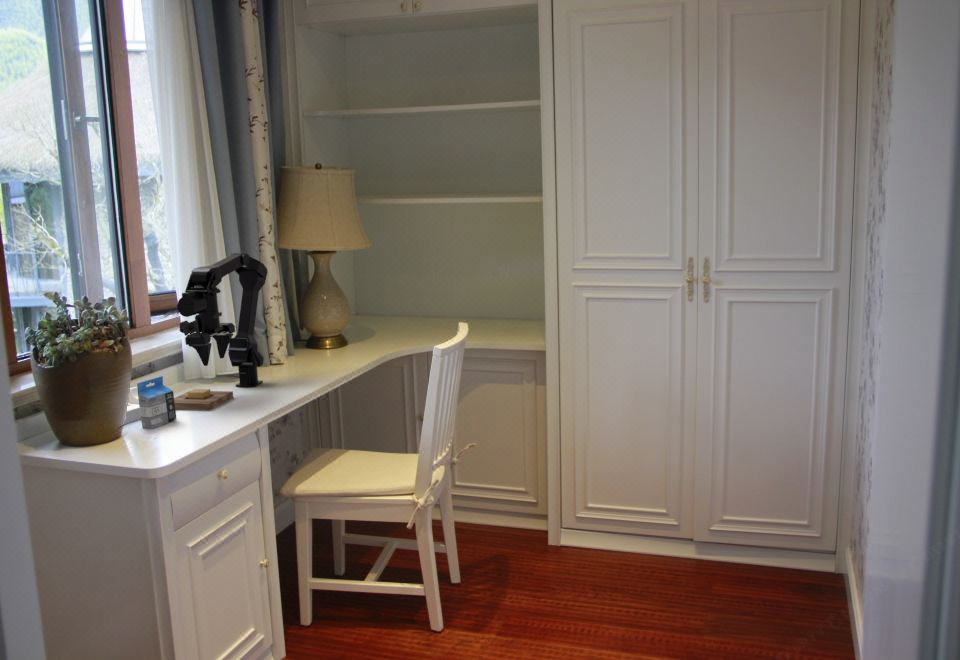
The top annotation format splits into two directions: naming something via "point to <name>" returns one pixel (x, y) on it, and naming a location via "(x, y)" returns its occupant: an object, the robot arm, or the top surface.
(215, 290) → the robot arm
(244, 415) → the top surface
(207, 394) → the tan wooden block
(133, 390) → the bracket
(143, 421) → the label tape box
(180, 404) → the brown square frame
